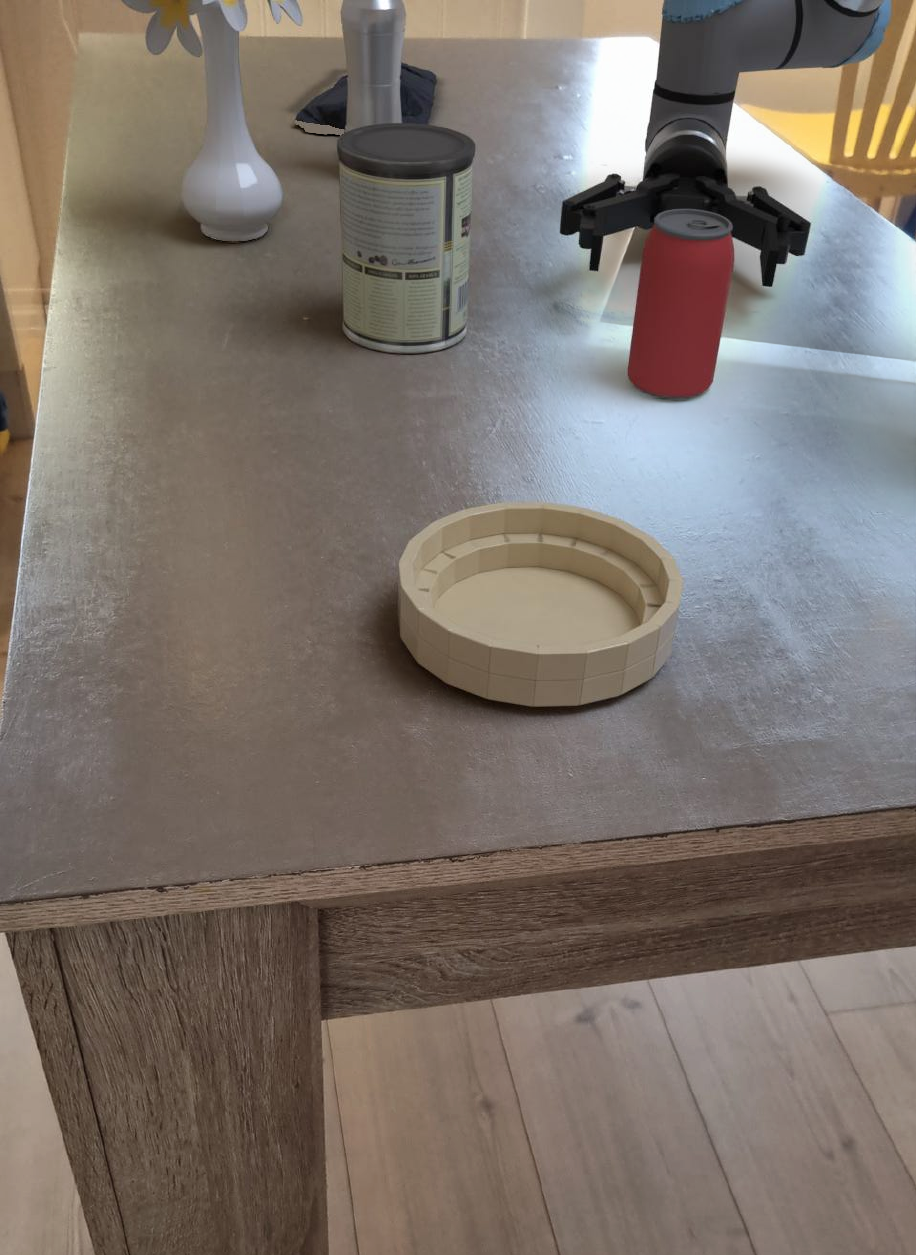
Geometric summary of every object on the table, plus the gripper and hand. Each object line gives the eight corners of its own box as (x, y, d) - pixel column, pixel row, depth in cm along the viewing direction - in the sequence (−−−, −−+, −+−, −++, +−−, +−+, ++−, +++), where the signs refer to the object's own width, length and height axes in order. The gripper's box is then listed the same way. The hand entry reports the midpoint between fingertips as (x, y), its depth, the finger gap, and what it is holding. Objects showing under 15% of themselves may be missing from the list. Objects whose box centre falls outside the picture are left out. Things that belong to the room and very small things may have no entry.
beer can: (720, 403, 98) (750, 238, 90) (634, 403, 98) (656, 236, 90) (701, 366, 103) (728, 206, 95) (619, 366, 102) (639, 205, 94)
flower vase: (134, 262, 115) (91, -78, 98) (200, 197, 129) (173, -111, 112) (277, 277, 114) (259, -65, 97) (329, 210, 127) (320, -100, 110)
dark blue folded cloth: (455, 95, 161) (457, 52, 158) (420, 145, 145) (421, 98, 141) (334, 85, 162) (333, 41, 159) (287, 133, 146) (284, 86, 143)
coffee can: (334, 307, 109) (330, 122, 100) (455, 303, 111) (462, 121, 101) (348, 357, 102) (344, 163, 92) (478, 353, 103) (487, 161, 94)
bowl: (683, 581, 79) (694, 523, 77) (656, 737, 68) (667, 674, 65) (434, 544, 81) (435, 486, 79) (366, 688, 70) (365, 626, 67)
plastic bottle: (357, 189, 132) (353, -44, 119) (334, 169, 137) (328, -57, 124) (415, 183, 135) (419, -46, 121) (391, 164, 139) (391, -59, 126)
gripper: (816, 234, 119) (833, 323, 103) (543, 210, 120) (519, 295, 105) (835, 144, 114) (856, 224, 98) (550, 121, 115) (526, 196, 100)
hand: (682, 261), depth 101 cm, fingers open, 13 cm apart
